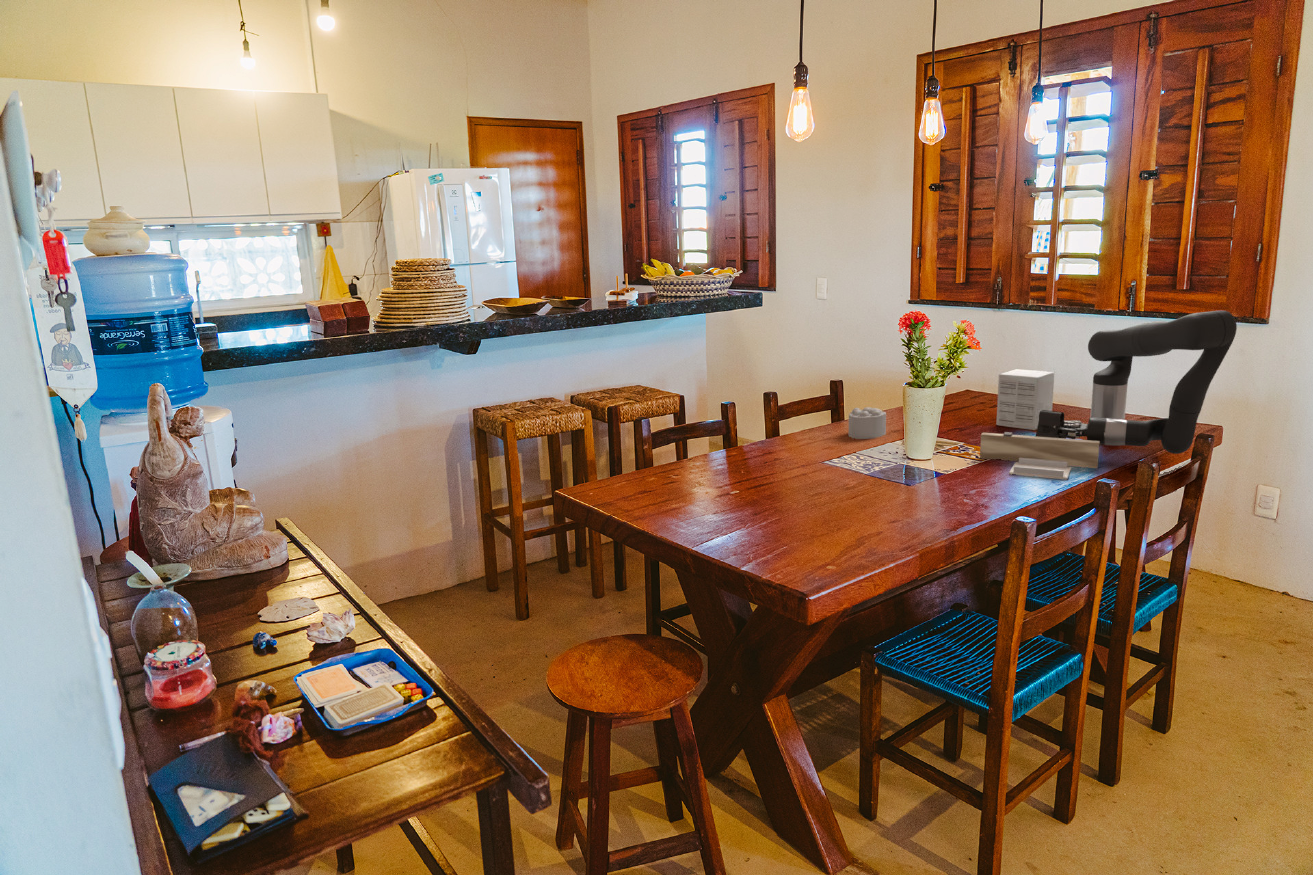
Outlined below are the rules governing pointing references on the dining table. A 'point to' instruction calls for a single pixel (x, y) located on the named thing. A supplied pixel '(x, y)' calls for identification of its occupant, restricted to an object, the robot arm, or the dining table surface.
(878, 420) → the lumpy-topped squat cylinder
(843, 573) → the dining table surface
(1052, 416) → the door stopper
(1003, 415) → the supplement box
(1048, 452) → the door board
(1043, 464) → the keeper plate
